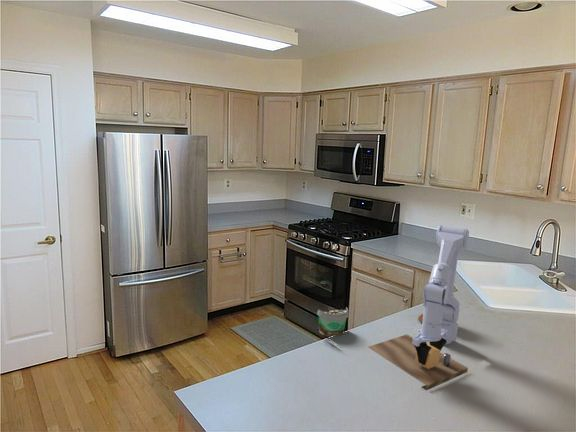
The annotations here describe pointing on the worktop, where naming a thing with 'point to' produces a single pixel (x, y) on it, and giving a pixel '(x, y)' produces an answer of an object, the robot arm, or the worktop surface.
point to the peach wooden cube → (431, 357)
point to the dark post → (446, 359)
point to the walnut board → (404, 357)
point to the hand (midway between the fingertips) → (427, 361)
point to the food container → (332, 322)
